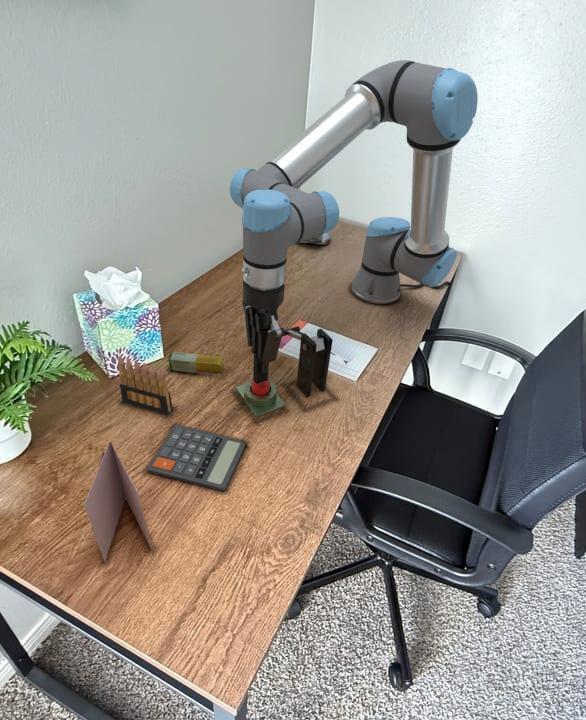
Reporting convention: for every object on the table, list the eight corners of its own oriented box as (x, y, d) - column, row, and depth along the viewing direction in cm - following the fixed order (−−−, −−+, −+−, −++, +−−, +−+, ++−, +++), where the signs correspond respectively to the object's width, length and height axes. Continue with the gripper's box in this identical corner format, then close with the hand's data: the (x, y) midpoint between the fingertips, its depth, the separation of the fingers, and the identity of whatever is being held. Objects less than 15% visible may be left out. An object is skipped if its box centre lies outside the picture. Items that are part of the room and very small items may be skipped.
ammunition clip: (173, 409, 97) (167, 365, 90) (168, 415, 96) (162, 371, 88) (127, 396, 99) (118, 352, 91) (122, 401, 97) (112, 357, 90)
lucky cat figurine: (337, 244, 169) (335, 218, 156) (309, 260, 167) (305, 235, 154) (314, 218, 175) (311, 191, 162) (288, 233, 173) (282, 207, 160)
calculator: (175, 423, 93) (246, 440, 91) (175, 426, 94) (246, 443, 92) (146, 468, 84) (224, 488, 82) (146, 471, 84) (224, 491, 83)
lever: (275, 339, 106) (274, 329, 105) (298, 333, 109) (296, 323, 108) (308, 354, 95) (307, 343, 94) (332, 346, 98) (331, 335, 97)
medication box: (169, 371, 107) (167, 358, 104) (173, 363, 108) (170, 350, 106) (221, 376, 107) (220, 364, 104) (224, 368, 108) (223, 355, 106)
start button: (247, 387, 100) (247, 380, 98) (264, 381, 102) (264, 374, 100) (256, 398, 97) (256, 391, 96) (273, 392, 99) (273, 385, 98)
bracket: (285, 386, 107) (289, 330, 97) (314, 375, 110) (321, 320, 101) (305, 410, 101) (312, 354, 91) (335, 399, 105) (345, 343, 95)
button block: (235, 393, 103) (235, 379, 101) (263, 383, 106) (263, 370, 104) (256, 422, 97) (256, 408, 94) (285, 411, 100) (286, 397, 98)
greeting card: (120, 497, 80) (104, 439, 71) (164, 498, 81) (154, 441, 71) (98, 561, 71) (77, 505, 62) (148, 562, 72) (134, 506, 62)
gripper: (228, 268, 85) (230, 367, 100) (262, 303, 77) (259, 405, 92) (265, 261, 89) (261, 357, 103) (300, 294, 81) (291, 393, 95)
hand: (260, 380), depth 98 cm, fingers closed
